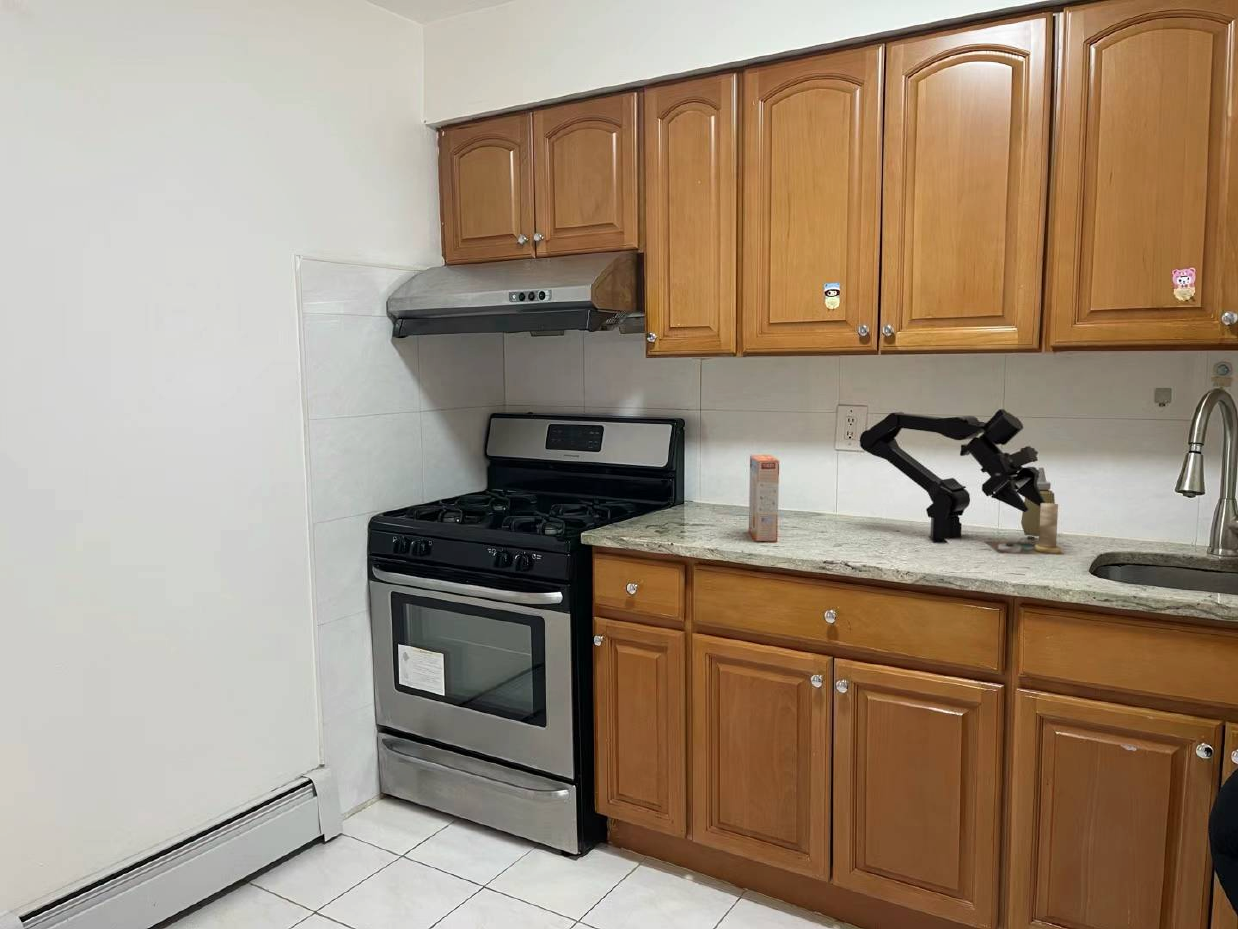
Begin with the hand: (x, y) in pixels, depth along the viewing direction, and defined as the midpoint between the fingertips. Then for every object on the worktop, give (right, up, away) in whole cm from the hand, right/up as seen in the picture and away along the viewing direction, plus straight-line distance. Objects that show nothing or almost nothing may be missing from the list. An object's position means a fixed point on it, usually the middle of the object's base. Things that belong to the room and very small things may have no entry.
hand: (1035, 508), depth 206 cm
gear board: (-2, -10, +3) cm, 11 cm away
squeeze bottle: (+10, -9, +20) cm, 24 cm away
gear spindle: (+2, -10, -1) cm, 10 cm away
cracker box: (-59, -9, +24) cm, 65 cm away
